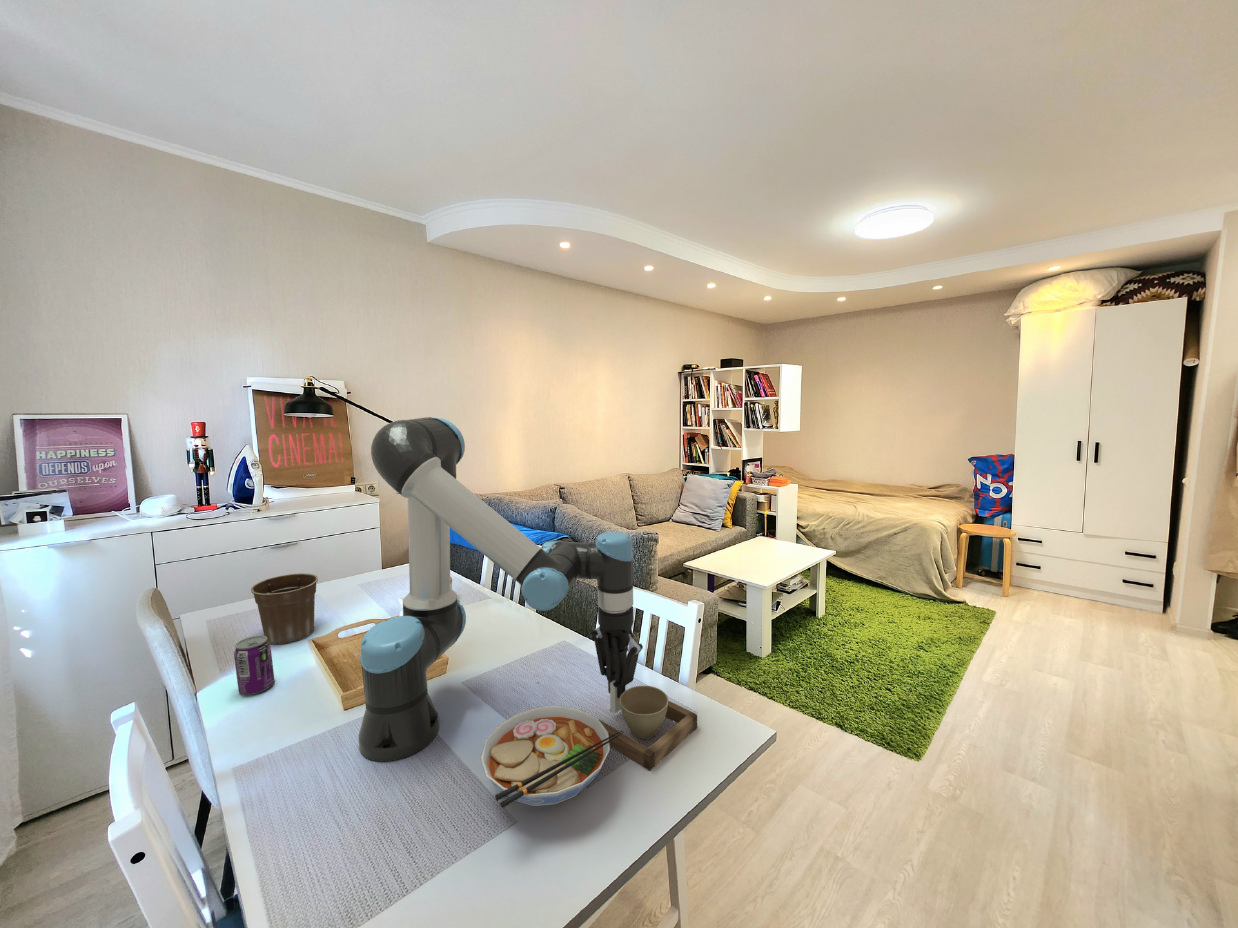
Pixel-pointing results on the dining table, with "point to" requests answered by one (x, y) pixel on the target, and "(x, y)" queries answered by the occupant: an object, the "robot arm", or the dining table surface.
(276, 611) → the plant pot
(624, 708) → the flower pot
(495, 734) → the ramen bowl
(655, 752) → the walnut bay
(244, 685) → the beverage can
